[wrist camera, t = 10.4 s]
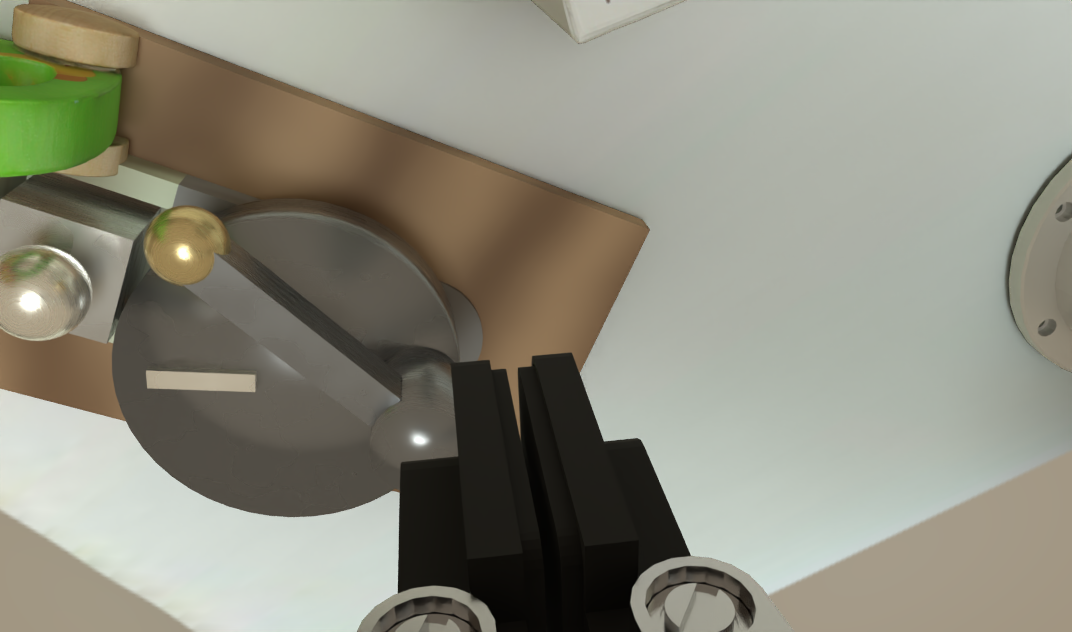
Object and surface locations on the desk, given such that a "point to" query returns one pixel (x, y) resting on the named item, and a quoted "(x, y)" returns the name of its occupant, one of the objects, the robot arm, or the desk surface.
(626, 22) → the skincare box
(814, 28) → the desk surface
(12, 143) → the toy lion
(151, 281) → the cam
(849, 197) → the desk surface
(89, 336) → the block with glass ball
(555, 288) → the stand
